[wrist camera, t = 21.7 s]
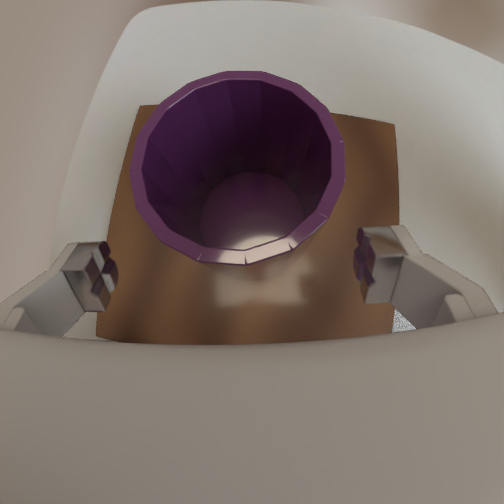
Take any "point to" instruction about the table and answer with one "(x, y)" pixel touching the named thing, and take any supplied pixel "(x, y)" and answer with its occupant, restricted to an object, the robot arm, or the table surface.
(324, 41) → the table surface
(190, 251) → the plum cup
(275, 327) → the placemat
